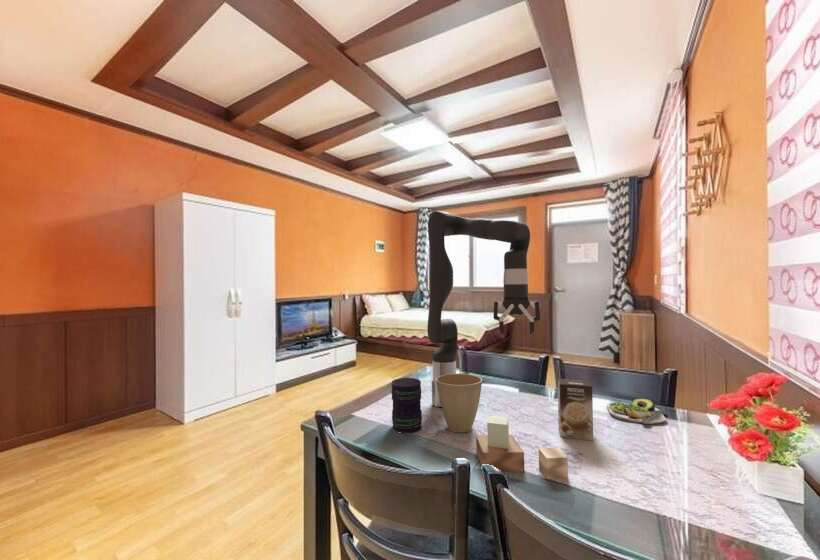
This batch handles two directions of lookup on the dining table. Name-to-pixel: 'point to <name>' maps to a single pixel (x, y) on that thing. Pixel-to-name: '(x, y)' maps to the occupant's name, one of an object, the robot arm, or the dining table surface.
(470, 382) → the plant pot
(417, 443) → the dining table surface
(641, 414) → the salad plate
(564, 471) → the maple block
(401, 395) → the storage jar
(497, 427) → the sage block
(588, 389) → the coffee box
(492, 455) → the walnut block
